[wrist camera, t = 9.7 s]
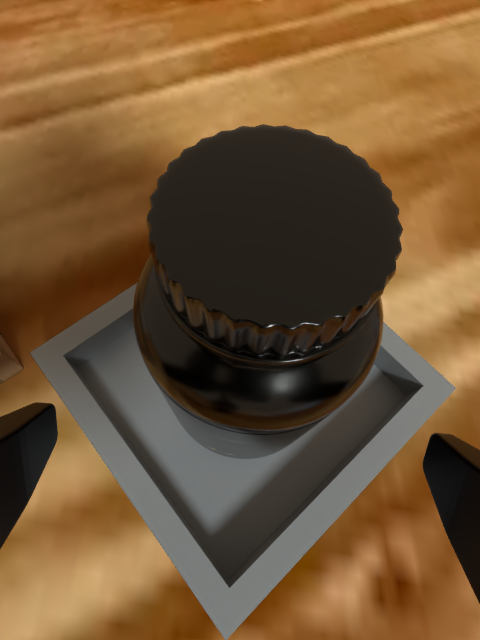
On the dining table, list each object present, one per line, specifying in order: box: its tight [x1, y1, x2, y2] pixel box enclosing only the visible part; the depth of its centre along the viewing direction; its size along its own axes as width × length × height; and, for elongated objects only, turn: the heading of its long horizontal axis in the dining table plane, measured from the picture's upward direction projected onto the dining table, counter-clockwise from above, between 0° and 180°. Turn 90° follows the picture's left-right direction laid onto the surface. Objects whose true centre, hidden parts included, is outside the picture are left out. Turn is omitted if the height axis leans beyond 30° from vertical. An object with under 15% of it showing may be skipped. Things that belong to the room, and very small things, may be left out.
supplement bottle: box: [133, 124, 403, 459], centre depth 12 cm, size 7×7×12 cm
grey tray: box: [30, 283, 456, 640], centre depth 18 cm, size 13×13×2 cm
